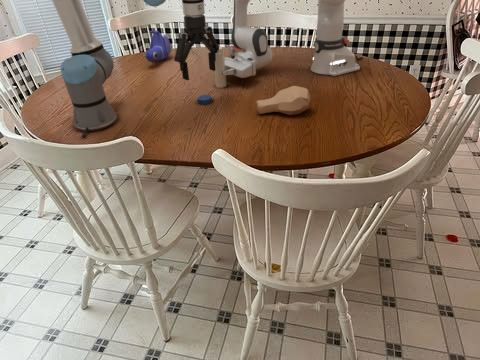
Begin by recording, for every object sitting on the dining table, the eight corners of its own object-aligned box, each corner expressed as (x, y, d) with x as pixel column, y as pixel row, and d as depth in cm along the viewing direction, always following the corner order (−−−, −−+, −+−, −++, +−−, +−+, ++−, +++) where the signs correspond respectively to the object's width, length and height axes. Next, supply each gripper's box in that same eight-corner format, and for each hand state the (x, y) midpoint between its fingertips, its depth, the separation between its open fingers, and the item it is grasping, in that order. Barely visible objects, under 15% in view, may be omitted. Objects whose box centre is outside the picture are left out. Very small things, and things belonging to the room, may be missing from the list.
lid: (197, 104, 141) (197, 100, 140) (198, 99, 146) (197, 95, 145) (212, 103, 142) (211, 99, 141) (211, 98, 146) (211, 94, 145)
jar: (213, 86, 156) (209, 49, 147) (219, 83, 159) (216, 45, 150) (222, 88, 154) (219, 50, 144) (228, 84, 157) (226, 47, 148)
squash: (314, 116, 128) (313, 95, 122) (259, 125, 130) (256, 105, 124) (308, 99, 136) (307, 78, 129) (257, 108, 138) (253, 88, 131)
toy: (159, 62, 200) (139, 68, 178) (155, 30, 193) (133, 32, 171) (176, 61, 198) (157, 67, 176) (172, 29, 191) (151, 31, 169)
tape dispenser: (245, 69, 176) (265, 54, 189) (245, 58, 173) (265, 44, 185) (216, 62, 184) (237, 49, 196) (215, 52, 180) (236, 39, 193)
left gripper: (172, 23, 115) (180, 86, 128) (226, 10, 130) (229, 68, 142) (158, 20, 120) (167, 81, 132) (212, 8, 134) (216, 64, 147)
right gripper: (227, 52, 164) (203, 59, 157) (257, 61, 151) (232, 69, 144) (228, 65, 168) (205, 73, 161) (258, 75, 155) (233, 84, 148)
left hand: (199, 74), depth 137 cm, fingers open, 13 cm apart
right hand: (218, 71), depth 152 cm, fingers closed on jar, 5 cm apart
